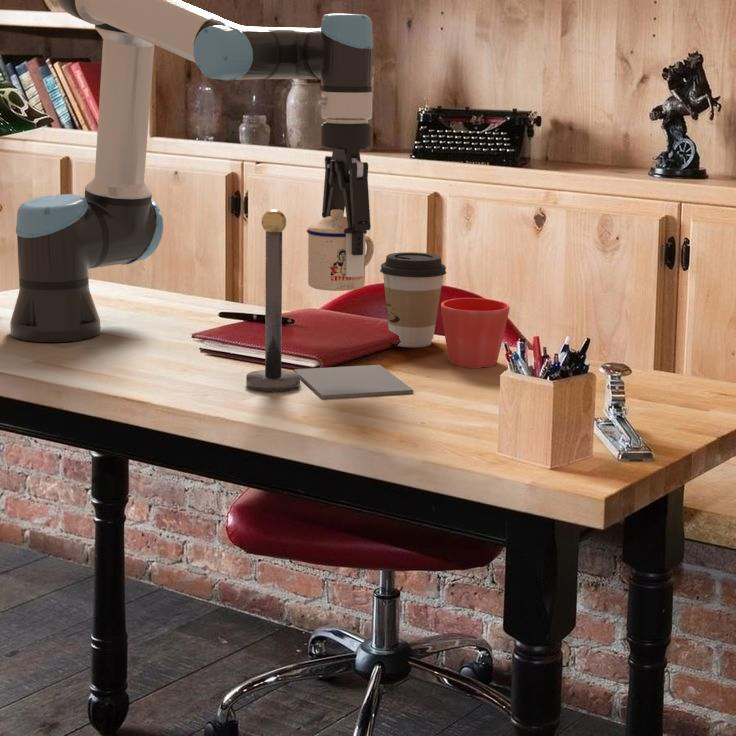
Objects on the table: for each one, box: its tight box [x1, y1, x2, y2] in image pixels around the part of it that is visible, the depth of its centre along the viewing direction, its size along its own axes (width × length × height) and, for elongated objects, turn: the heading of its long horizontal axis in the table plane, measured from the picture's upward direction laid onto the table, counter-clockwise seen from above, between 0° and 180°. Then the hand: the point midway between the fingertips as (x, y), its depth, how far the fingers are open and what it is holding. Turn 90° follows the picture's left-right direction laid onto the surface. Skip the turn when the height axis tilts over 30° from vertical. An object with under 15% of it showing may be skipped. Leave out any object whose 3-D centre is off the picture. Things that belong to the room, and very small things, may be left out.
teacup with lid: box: [306, 209, 375, 292], centre depth 203 cm, size 12×9×12 cm
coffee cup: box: [379, 251, 447, 348], centre depth 228 cm, size 11×11×15 cm
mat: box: [293, 364, 414, 400], centre depth 202 cm, size 16×14×1 cm
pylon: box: [245, 209, 301, 393], centre depth 196 cm, size 8×8×26 cm
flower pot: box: [440, 297, 510, 369], centre depth 215 cm, size 11×11×10 cm
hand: (344, 271), depth 204 cm, fingers closed on teacup with lid, 9 cm apart
